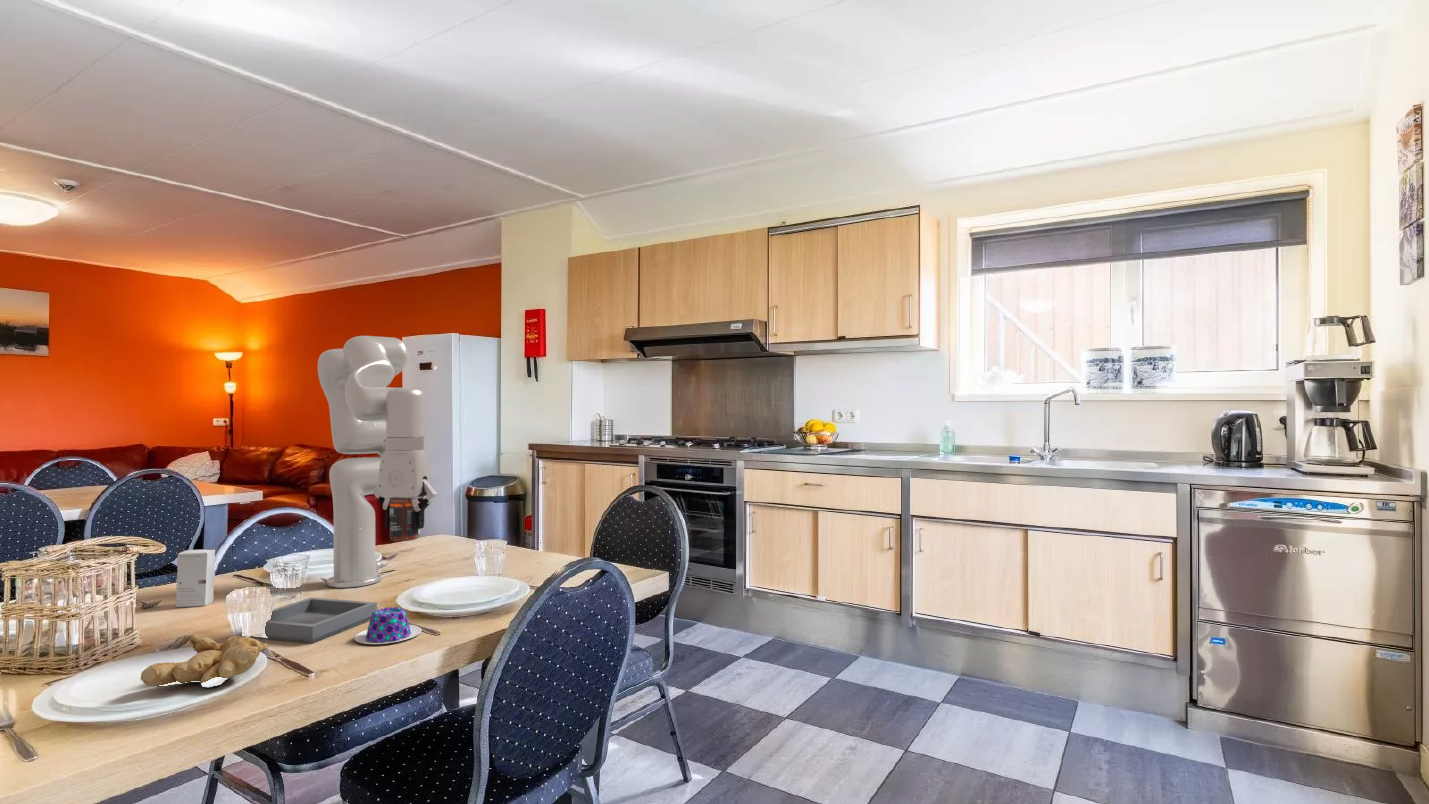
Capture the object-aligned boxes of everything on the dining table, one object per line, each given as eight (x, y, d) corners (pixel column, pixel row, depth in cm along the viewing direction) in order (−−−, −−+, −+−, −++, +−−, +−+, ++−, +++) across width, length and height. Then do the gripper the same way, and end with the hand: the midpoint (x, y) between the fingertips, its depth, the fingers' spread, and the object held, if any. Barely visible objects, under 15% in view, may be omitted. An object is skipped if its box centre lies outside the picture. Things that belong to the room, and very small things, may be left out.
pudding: (363, 652, 131) (363, 624, 131) (346, 636, 140) (346, 609, 140) (430, 638, 139) (430, 611, 139) (410, 624, 148) (410, 599, 148)
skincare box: (175, 608, 160) (175, 553, 160) (185, 602, 164) (185, 549, 164) (206, 606, 161) (206, 552, 161) (215, 600, 165) (215, 548, 165)
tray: (311, 612, 156) (311, 597, 156) (376, 617, 152) (376, 602, 152) (241, 636, 140) (241, 619, 140) (312, 643, 135) (312, 626, 135)
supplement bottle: (424, 537, 158) (424, 485, 158) (410, 542, 152) (410, 489, 152) (398, 536, 159) (399, 485, 159) (383, 541, 153) (384, 488, 153)
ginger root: (296, 651, 127) (287, 611, 125) (239, 710, 112) (228, 664, 110) (208, 655, 127) (198, 614, 125) (139, 714, 112) (127, 668, 110)
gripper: (359, 445, 154) (358, 529, 154) (428, 447, 149) (427, 533, 150) (383, 443, 161) (383, 523, 161) (450, 445, 157) (449, 527, 157)
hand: (404, 527), depth 155 cm, fingers closed on supplement bottle, 6 cm apart
